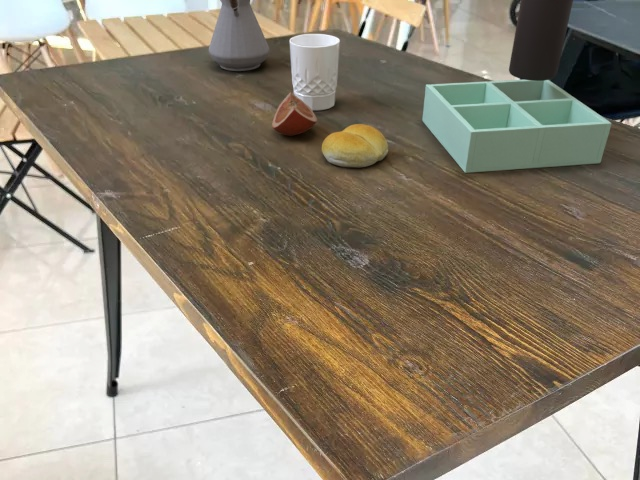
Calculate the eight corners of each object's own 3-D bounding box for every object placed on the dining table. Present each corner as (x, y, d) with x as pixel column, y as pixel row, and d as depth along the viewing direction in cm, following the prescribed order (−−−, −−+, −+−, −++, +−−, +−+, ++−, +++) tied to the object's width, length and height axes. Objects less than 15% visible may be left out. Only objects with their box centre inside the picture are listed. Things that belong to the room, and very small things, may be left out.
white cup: (322, 115, 103) (323, 49, 97) (281, 106, 106) (279, 42, 100) (347, 101, 108) (349, 38, 102) (307, 93, 111) (306, 31, 105)
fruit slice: (271, 123, 100) (270, 90, 97) (315, 122, 100) (315, 89, 97) (273, 144, 93) (271, 110, 90) (319, 143, 94) (319, 108, 91)
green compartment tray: (538, 114, 104) (546, 78, 100) (600, 163, 88) (611, 123, 85) (422, 121, 101) (425, 84, 98) (465, 173, 86) (471, 132, 82)
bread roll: (310, 157, 90) (310, 129, 87) (354, 140, 95) (355, 113, 92) (354, 176, 85) (355, 146, 82) (398, 156, 90) (400, 128, 87)
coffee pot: (211, 57, 128) (203, -28, 119) (269, 56, 129) (266, -29, 120) (204, 92, 111) (195, -4, 102) (271, 90, 112) (267, -5, 103)
